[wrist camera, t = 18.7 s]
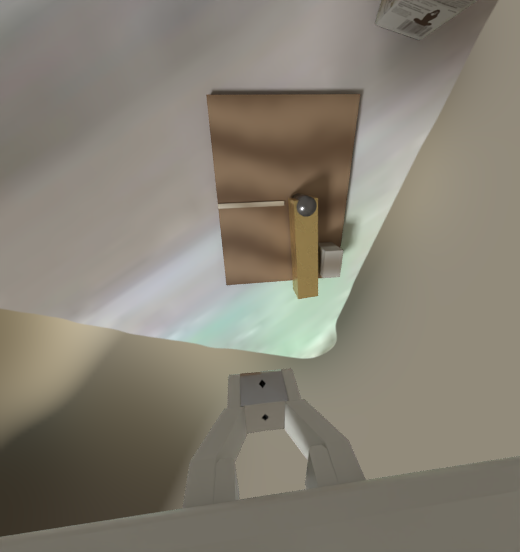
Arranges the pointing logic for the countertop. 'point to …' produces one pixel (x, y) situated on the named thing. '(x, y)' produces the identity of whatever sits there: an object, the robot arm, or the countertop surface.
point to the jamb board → (279, 177)
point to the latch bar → (304, 244)
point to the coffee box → (418, 15)
